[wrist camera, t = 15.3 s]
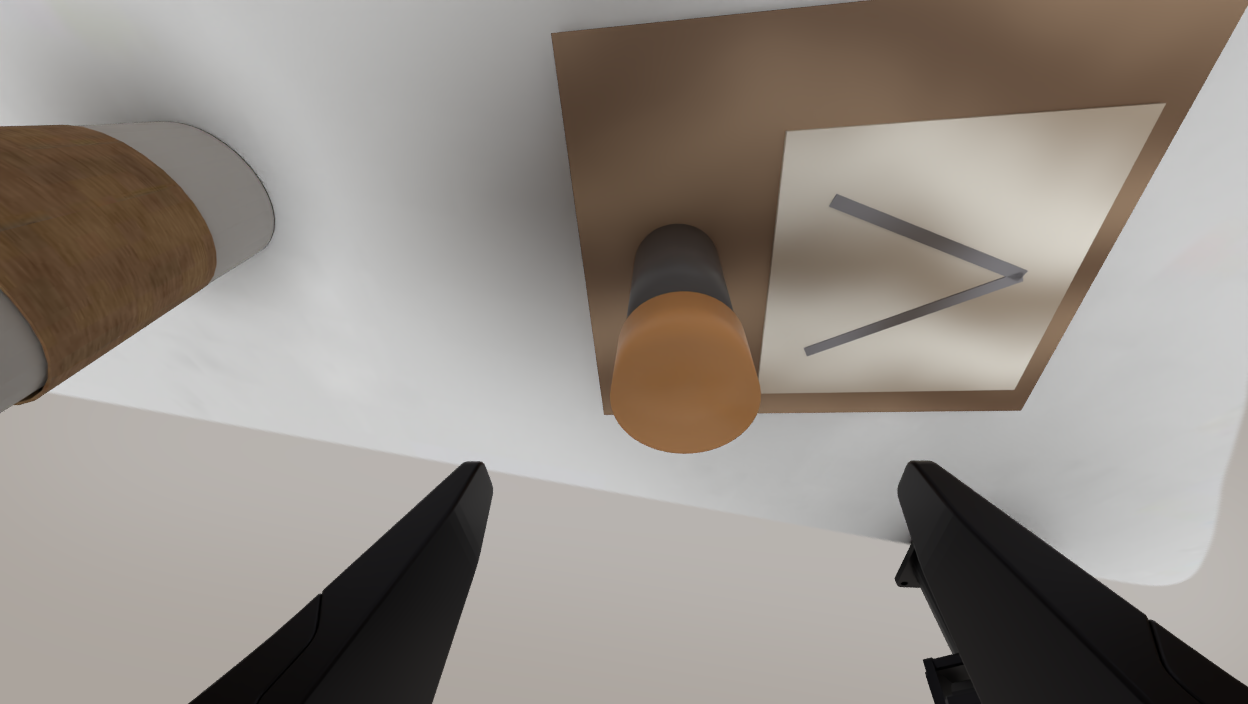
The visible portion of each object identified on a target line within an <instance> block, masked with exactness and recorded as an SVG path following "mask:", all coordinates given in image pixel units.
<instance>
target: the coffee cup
mask: <svg viewBox="0 0 1248 704" xmlns="http://www.w3.org/2000/svg"><path fill="white" fill-rule="evenodd" d="M273 231H274V215H273V209H272V206H271V203H270V200H269V198H268V195H267V193H266V191H265V189H264V187H263V186H262V184H261V182H260V180H259V179H258V178H257V176H256V175H255V173H254V172H253V171H252V169H251V168H250V167H249V166H248V165H247V164H246V163H245V162H244V161H243V159H242V158H241V157H240V156H239V155H237V154H236V153H235V152H234V151H233V150H232V149H230V148H229V147H228V146H227V145H226V144H224V143H223V142H221V141H220V140H218V139H216V138H215V137H213V136H212V135H210V134H208V133H206V132H204V131H202V130H200V129H198V128H195V127H192V126H189V125H185V124H182V123H175V122H140V123H120V124H101V125H82V126H71V125H40V126H0V413H1V412H3V411H4V410H6V409H8V408H9V407H11V406H12V405H21V404H24V403H28V402H31V401H35V400H36V399H38V398H39V397H41V396H42V395H44V394H45V393H47V392H48V391H50V390H51V389H53V388H54V387H56V386H57V385H59V384H60V383H62V382H63V381H65V380H66V379H68V378H69V377H71V376H72V375H74V374H75V373H77V372H78V371H80V370H81V369H83V368H84V367H86V366H87V365H89V364H90V363H92V362H93V361H95V360H96V359H98V358H99V357H101V356H102V355H104V354H105V353H107V352H108V351H110V350H111V349H113V348H114V347H116V346H117V345H119V344H120V343H122V342H123V341H125V340H126V339H128V338H129V337H131V336H132V335H134V334H135V333H137V332H138V331H140V330H141V329H143V328H144V327H146V326H147V325H149V324H150V323H152V322H153V321H155V320H156V319H158V318H159V317H161V316H162V315H164V314H165V313H167V312H168V311H170V310H171V309H173V308H174V307H176V306H177V305H179V304H180V303H182V302H183V301H185V300H186V299H188V298H189V297H191V296H192V295H194V294H195V293H197V292H198V291H200V290H201V289H203V288H204V287H205V286H207V285H208V284H209V283H210V282H212V281H214V280H215V279H217V278H218V277H220V276H222V275H223V274H225V273H227V272H228V271H230V270H231V269H233V268H235V267H236V266H238V265H239V264H241V263H243V262H244V261H246V260H247V259H249V258H251V257H252V256H254V255H255V254H257V253H258V252H259V251H261V250H262V249H263V248H265V247H266V245H267V244H268V243H269V241H270V240H271V237H272V234H273Z"/></svg>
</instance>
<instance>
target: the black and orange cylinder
mask: <svg viewBox="0 0 1248 704" xmlns="http://www.w3.org/2000/svg"><path fill="white" fill-rule="evenodd" d="M760 402H761V389H760V384H759V380H758V377H757V373H756V370H755V366H754V363H753V359H752V356H751V353H750V349H749V346H748V342H747V339H746V335H745V332H744V329H743V326H742V324H741V322H740V320H739V318H738V317H737V316H736V314H735V313H734V311H733V307H732V304H731V300H730V296H729V293H728V289H727V285H726V282H725V278H724V274H723V270H722V267H721V263H720V259H719V256H718V252H717V249H716V247H715V245H714V243H713V241H712V240H711V238H710V237H709V236H708V235H707V234H706V233H704V232H703V231H702V230H700V229H698V228H696V227H694V226H691V225H687V224H669V225H665V226H662V227H660V228H658V229H656V230H654V231H653V232H651V233H650V234H649V235H648V236H646V237H645V239H644V240H643V241H642V242H641V244H640V246H639V248H638V250H637V252H636V256H635V262H634V269H633V276H632V283H631V290H630V298H629V305H628V312H627V319H626V321H625V322H624V324H623V326H622V329H621V331H620V335H619V340H618V346H617V353H616V359H615V365H614V371H613V378H612V384H611V391H610V403H611V408H612V411H613V414H614V416H615V418H616V420H617V422H618V423H619V425H620V426H621V427H622V428H623V429H624V430H625V431H626V432H627V433H628V434H629V435H630V436H631V437H633V438H634V439H635V440H637V441H639V442H640V443H642V444H644V445H646V446H648V447H651V448H654V449H657V450H660V451H665V452H670V453H682V454H687V453H699V452H704V451H709V450H712V449H715V448H718V447H721V446H723V445H725V444H727V443H729V442H731V441H732V440H734V439H736V438H737V437H738V436H740V435H741V434H742V433H743V432H744V431H745V430H746V429H747V428H748V427H749V426H750V424H751V423H752V422H753V420H754V418H755V417H756V415H757V412H758V410H759V407H760Z"/></svg>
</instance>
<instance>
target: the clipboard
mask: <svg viewBox="0 0 1248 704" xmlns="http://www.w3.org/2000/svg"><path fill="white" fill-rule="evenodd" d="M1247 6H1248V0H869V1H859V2H849V3H840V4H830V5H820V6H811V7H801V8H791V9H781V10H772V11H762V12H752V13H743V14H733V15H723V16H714V17H704V18H694V19H684V20H675V21H665V22H655V23H646V24H636V25H626V26H616V27H607V28H597V29H587V30H578V31H568V32H558V33H551V36H552V43H553V51H554V58H555V65H556V72H557V79H558V87H559V94H560V101H561V108H562V115H563V123H564V130H565V137H566V144H567V151H568V159H569V166H570V173H571V180H572V187H573V194H574V202H575V209H576V216H577V223H578V230H579V238H580V245H581V252H582V259H583V266H584V274H585V281H586V288H587V295H588V302H589V310H590V317H591V324H592V331H593V338H594V346H595V353H596V360H597V367H598V374H599V382H600V389H601V396H602V403H603V410H604V415H614V414H613V411H612V408H611V403H610V391H611V384H612V378H613V371H614V365H615V359H616V353H617V346H618V340H619V335H620V331H621V329H622V326H623V324H624V322H625V321H626V319H627V312H628V305H629V298H630V290H631V283H632V276H633V269H634V262H635V256H636V252H637V250H638V248H639V246H640V244H641V242H642V241H643V240H644V239H645V237H646V236H648V235H649V234H650V233H651V232H653V231H654V230H656V229H658V228H660V227H662V226H665V225H669V224H687V225H691V226H694V227H696V228H698V229H700V230H702V231H703V232H704V233H706V234H707V235H708V236H709V237H710V238H711V240H712V241H713V243H714V245H715V247H716V249H717V252H718V256H719V259H720V263H721V267H722V270H723V274H724V278H725V282H726V285H727V289H728V293H729V296H730V300H731V304H732V307H733V311H734V313H735V314H736V316H737V317H738V318H739V320H740V322H741V324H742V326H743V329H744V332H745V335H746V339H747V342H748V346H749V349H750V353H751V356H752V359H753V363H754V366H755V370H756V373H757V377H758V380H759V384H760V389H761V402H760V407H759V410H758V412H757V413H829V412H924V411H1020V410H1022V408H1023V406H1024V404H1025V402H1026V401H1027V399H1028V397H1029V395H1030V394H1031V392H1032V390H1033V388H1034V386H1035V385H1036V383H1037V381H1038V379H1039V377H1040V376H1041V374H1042V372H1043V370H1044V368H1045V367H1046V365H1047V363H1048V361H1049V360H1050V358H1051V356H1052V354H1053V352H1054V351H1055V349H1056V347H1057V345H1058V343H1059V342H1060V340H1061V338H1062V336H1063V335H1064V333H1065V331H1066V329H1067V327H1068V326H1069V324H1070V322H1071V320H1072V318H1073V317H1074V315H1075V313H1076V311H1077V310H1078V308H1079V306H1080V304H1081V302H1082V301H1083V299H1084V297H1085V295H1086V293H1087V292H1088V290H1089V288H1090V286H1091V284H1092V283H1093V281H1094V279H1095V277H1096V276H1097V274H1098V272H1099V270H1100V268H1101V267H1102V265H1103V263H1104V261H1105V259H1106V258H1107V256H1108V254H1109V252H1110V251H1111V249H1112V247H1113V245H1114V243H1115V242H1116V240H1117V238H1118V236H1119V234H1120V233H1121V231H1122V229H1123V227H1124V226H1125V224H1126V222H1127V220H1128V218H1129V217H1130V215H1131V213H1132V211H1133V209H1134V208H1135V206H1136V204H1137V202H1138V200H1139V199H1140V197H1141V195H1142V193H1143V192H1144V190H1145V188H1146V186H1147V184H1148V183H1149V181H1150V179H1151V177H1152V175H1153V174H1154V172H1155V170H1156V168H1157V167H1158V165H1159V163H1160V161H1161V159H1162V158H1163V156H1164V154H1165V152H1166V150H1167V149H1168V147H1169V145H1170V143H1171V142H1172V140H1173V138H1174V136H1175V134H1176V133H1177V131H1178V129H1179V127H1180V125H1181V124H1182V122H1183V120H1184V118H1185V116H1186V115H1187V113H1188V111H1189V109H1190V108H1191V106H1192V104H1193V102H1194V100H1195V99H1196V97H1197V95H1198V93H1199V91H1200V90H1201V88H1202V86H1203V84H1204V83H1205V81H1206V79H1207V77H1208V75H1209V74H1210V72H1211V70H1212V68H1213V66H1214V65H1215V63H1216V61H1217V59H1218V58H1219V56H1220V54H1221V52H1222V50H1223V49H1224V47H1225V45H1226V43H1227V41H1228V40H1229V38H1230V36H1231V34H1232V32H1233V31H1234V29H1235V27H1236V25H1237V24H1238V22H1239V20H1240V18H1241V16H1242V15H1243V13H1244V11H1245V9H1246V7H1247Z"/></svg>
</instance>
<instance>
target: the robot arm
mask: <svg viewBox="0 0 1248 704" xmlns="http://www.w3.org/2000/svg"><path fill="white" fill-rule="evenodd" d="M897 491H898V498H899V502H900V505H901V508H902V511H903V514H904V517H905V520H906V523H907V526H908V529H909V532H910V535H911V538H912V543H911V545H910V548H909V550H908V552H907V554H906V556H905V558H904V560H903V562H902V564H901V566H900V568H899V570H898V572H897V574H896V577H895V581H896V583H897V585H898V586H899V587H915V588H921V590H922V592H923V594H924V596H925V598H926V600H927V602H928V604H929V606H930V608H931V610H932V613H933V615H934V617H935V619H936V621H937V623H938V625H939V627H940V629H941V631H942V633H943V635H944V637H945V640H946V642H947V643H948V646H949V648H950V650H951V651H952V655H948V656H944V657H940V658H936V659H933V658H927V659H924V660H923V662H924V666H925V669H926V672H925V674H926V678H927V681H928V684H929V687H930V690H931V693H932V697H933V699H934V703H935V704H1248V687H1247V686H1246V685H1244V684H1243V683H1241V682H1240V681H1238V680H1237V679H1235V678H1234V677H1232V676H1231V675H1229V674H1228V673H1227V672H1225V671H1224V670H1222V669H1221V668H1220V667H1218V666H1217V665H1215V664H1214V663H1213V662H1211V661H1209V660H1208V659H1207V658H1205V657H1204V656H1203V655H1201V654H1200V653H1198V652H1197V651H1196V650H1194V649H1193V648H1191V647H1190V646H1188V645H1187V644H1186V643H1184V642H1183V641H1181V640H1180V639H1178V638H1177V637H1176V636H1174V635H1173V634H1172V633H1170V632H1169V631H1167V630H1166V629H1165V628H1163V627H1162V626H1160V625H1159V624H1158V623H1156V622H1155V621H1153V620H1148V618H1147V616H1146V615H1145V614H1144V613H1142V612H1141V611H1139V610H1138V609H1137V608H1135V607H1134V606H1133V605H1131V604H1130V603H1129V602H1127V601H1126V600H1124V599H1123V598H1122V597H1120V596H1119V595H1117V594H1116V593H1115V592H1113V591H1112V590H1111V589H1109V588H1108V587H1106V586H1105V585H1104V584H1102V583H1101V582H1099V581H1098V580H1097V579H1095V578H1094V577H1093V576H1091V575H1090V574H1088V573H1087V572H1086V571H1084V570H1083V569H1082V568H1080V567H1079V566H1077V565H1076V564H1075V563H1073V562H1072V561H1070V560H1069V559H1068V558H1066V557H1065V556H1064V555H1062V554H1061V553H1059V552H1058V551H1057V550H1055V549H1054V548H1052V547H1051V546H1050V545H1048V544H1047V543H1046V542H1044V541H1043V540H1041V539H1040V538H1039V537H1037V536H1036V535H1035V534H1033V533H1032V532H1030V531H1029V530H1028V529H1026V528H1025V527H1023V526H1022V525H1021V524H1019V523H1018V522H1017V521H1015V520H1014V519H1012V518H1011V517H1010V516H1008V515H1007V514H1005V513H1004V512H1003V511H1001V510H1000V509H999V508H997V507H996V506H994V505H993V504H992V503H990V502H989V501H988V500H986V499H985V498H983V497H982V496H981V495H979V494H978V493H976V492H975V491H974V490H972V489H971V488H970V487H968V486H967V485H965V484H964V483H963V482H961V481H960V480H958V479H957V478H956V477H954V476H953V475H952V474H950V473H949V472H947V471H946V470H945V469H943V468H942V467H940V466H939V465H938V464H936V463H934V462H932V461H910V462H909V463H908V464H907V465H906V468H905V470H904V473H903V475H902V477H901V480H900V482H899V485H898V490H897ZM492 496H493V486H492V483H491V480H490V477H489V475H488V472H487V469H486V467H485V465H484V463H483V462H480V461H468V462H464V463H462V464H461V465H460V466H459V467H458V468H457V469H456V470H454V471H453V472H452V473H451V474H450V475H449V476H448V477H447V478H446V479H445V480H444V481H442V482H441V483H440V484H439V485H438V486H437V487H436V488H435V489H434V490H433V491H431V492H430V493H429V494H428V495H427V496H426V497H425V498H424V499H423V500H422V501H420V502H419V503H418V504H417V505H416V506H415V507H414V508H413V509H412V510H411V511H410V512H408V513H407V514H406V515H405V516H404V517H403V518H402V519H401V520H400V521H398V522H397V523H396V524H395V525H394V526H393V527H392V528H391V529H390V530H389V531H387V532H386V533H385V534H384V535H383V536H382V537H381V538H380V539H379V540H378V541H377V542H375V543H374V544H373V545H372V546H371V547H370V548H369V549H368V550H367V551H366V552H364V553H363V554H362V555H361V556H360V557H359V558H358V559H357V560H356V561H355V562H353V563H352V564H351V565H350V566H349V567H348V568H347V569H346V570H345V571H344V572H342V573H341V574H340V575H339V576H338V577H337V578H336V579H335V580H334V581H333V582H332V583H330V584H329V585H328V586H327V587H326V588H325V589H324V590H323V591H322V594H318V595H317V596H316V597H315V598H314V599H313V600H312V601H310V602H309V603H308V604H307V605H306V606H305V607H304V608H303V609H302V610H300V611H299V612H298V613H297V614H296V615H295V616H294V617H293V618H291V619H290V620H289V621H288V622H287V623H286V624H285V625H283V626H282V627H281V628H280V629H279V630H278V631H277V632H275V633H274V634H273V635H272V636H271V637H270V638H268V639H267V640H266V641H265V642H264V643H262V644H261V645H260V646H259V647H258V648H256V649H255V650H254V651H253V652H252V653H250V654H249V655H248V656H247V657H246V658H244V659H243V660H242V661H241V662H239V663H238V664H237V665H236V666H234V667H233V668H232V669H231V670H230V671H228V672H227V673H226V674H225V675H223V676H222V677H221V678H220V679H219V680H217V681H216V682H215V683H213V684H212V685H211V686H210V687H208V688H207V689H206V690H205V691H203V692H202V693H201V694H200V695H199V696H197V697H196V698H195V699H193V700H192V701H191V702H190V703H188V704H432V702H433V699H434V696H435V693H436V690H437V687H438V684H439V680H440V678H441V675H442V672H443V669H444V666H445V662H446V659H447V656H448V653H449V650H450V647H451V644H452V641H453V638H454V635H455V632H456V629H457V625H458V623H459V619H460V616H461V613H462V610H463V607H464V604H465V601H466V598H467V595H468V592H469V589H470V586H471V583H472V580H473V577H474V574H475V571H476V567H477V564H478V560H479V556H480V552H481V547H482V543H483V538H484V533H485V529H486V524H487V519H488V515H489V510H490V505H491V500H492Z"/></svg>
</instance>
